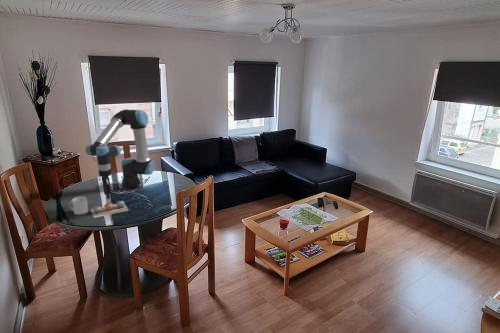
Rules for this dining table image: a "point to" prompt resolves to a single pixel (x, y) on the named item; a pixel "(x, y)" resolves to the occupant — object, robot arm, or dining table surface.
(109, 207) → the button terracotta
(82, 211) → the mug
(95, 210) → the button sage
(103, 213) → the button board
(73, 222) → the dining table surface
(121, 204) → the button slate
